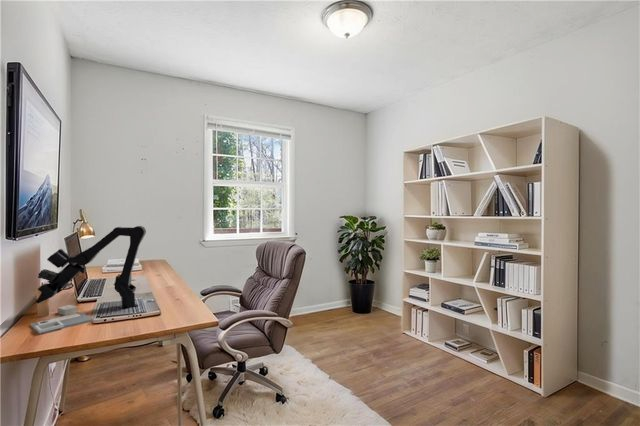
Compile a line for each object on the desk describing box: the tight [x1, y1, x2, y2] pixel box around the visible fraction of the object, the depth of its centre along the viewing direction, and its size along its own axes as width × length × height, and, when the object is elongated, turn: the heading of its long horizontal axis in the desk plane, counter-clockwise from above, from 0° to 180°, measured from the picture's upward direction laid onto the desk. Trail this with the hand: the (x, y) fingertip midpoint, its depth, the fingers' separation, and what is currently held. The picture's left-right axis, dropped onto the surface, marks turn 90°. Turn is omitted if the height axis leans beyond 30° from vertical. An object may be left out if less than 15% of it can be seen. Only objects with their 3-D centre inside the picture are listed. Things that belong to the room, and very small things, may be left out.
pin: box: [35, 285, 50, 318], centre depth 151 cm, size 4×4×13 cm
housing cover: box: [57, 304, 79, 316], centre depth 155 cm, size 7×5×2 cm
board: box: [30, 311, 94, 335], centre depth 140 cm, size 16×18×2 cm
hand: (39, 301), depth 150 cm, fingers closed on pin, 4 cm apart
